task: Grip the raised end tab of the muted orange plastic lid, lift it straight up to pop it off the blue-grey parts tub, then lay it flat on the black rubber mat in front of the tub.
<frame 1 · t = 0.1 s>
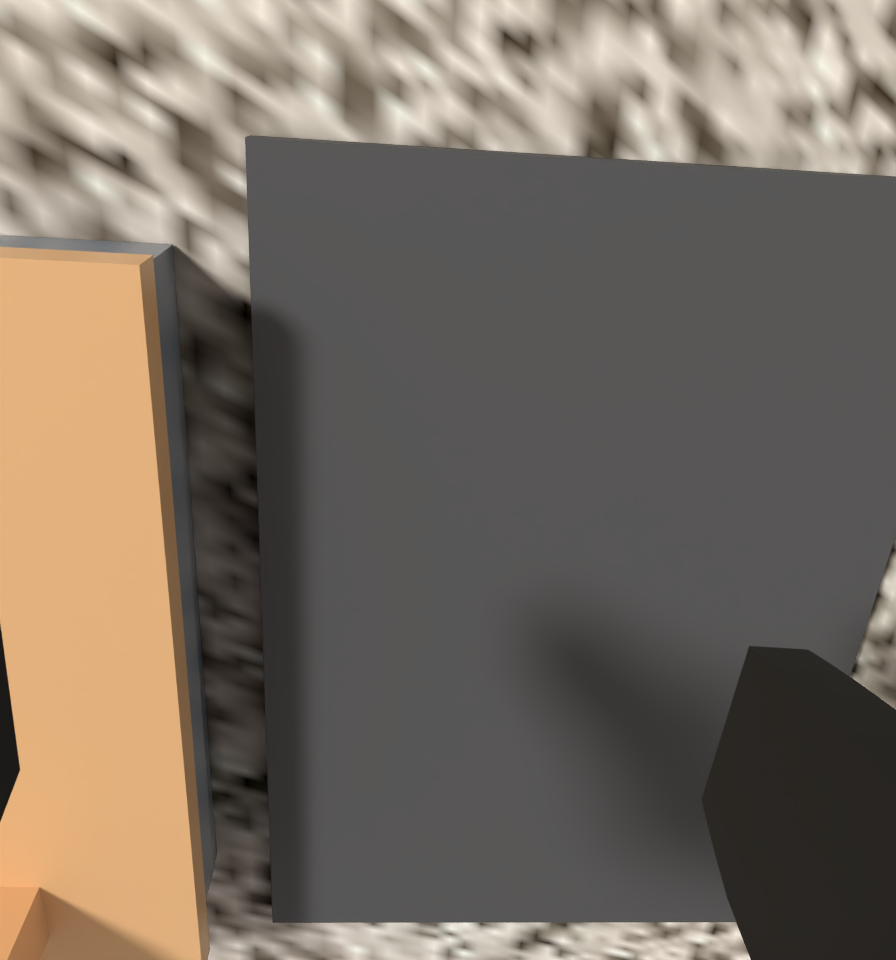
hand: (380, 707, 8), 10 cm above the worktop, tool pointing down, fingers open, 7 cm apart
mat: (567, 612, 20), on the worktop
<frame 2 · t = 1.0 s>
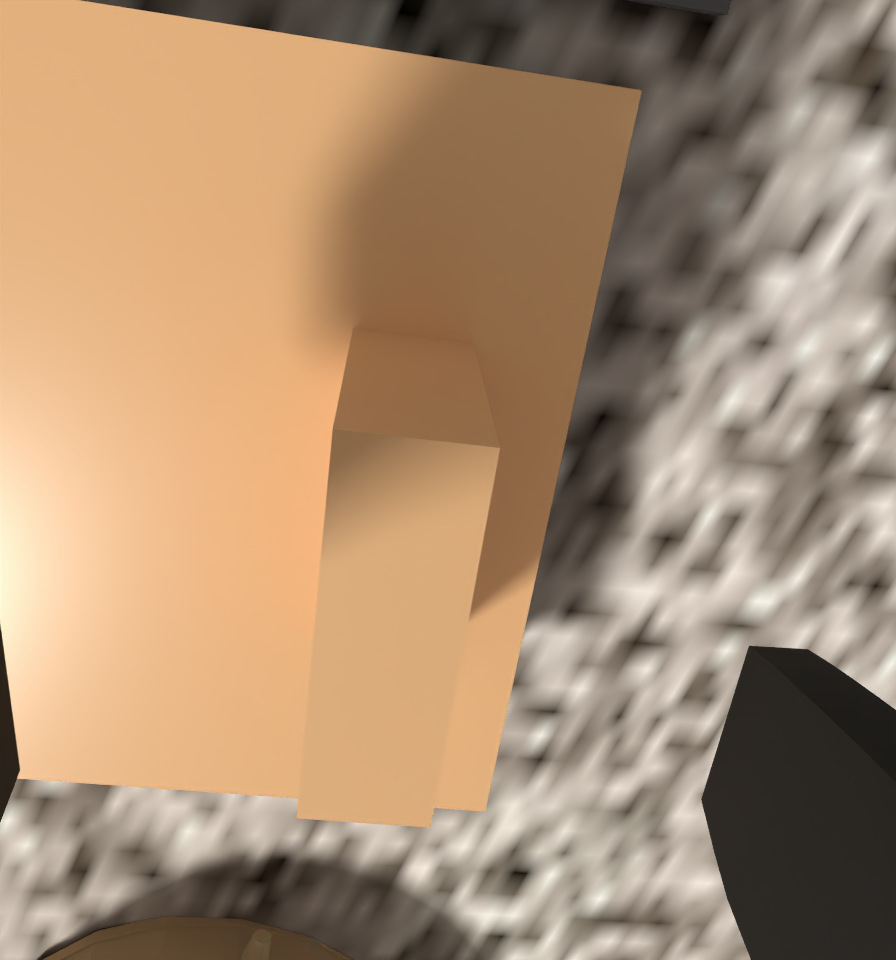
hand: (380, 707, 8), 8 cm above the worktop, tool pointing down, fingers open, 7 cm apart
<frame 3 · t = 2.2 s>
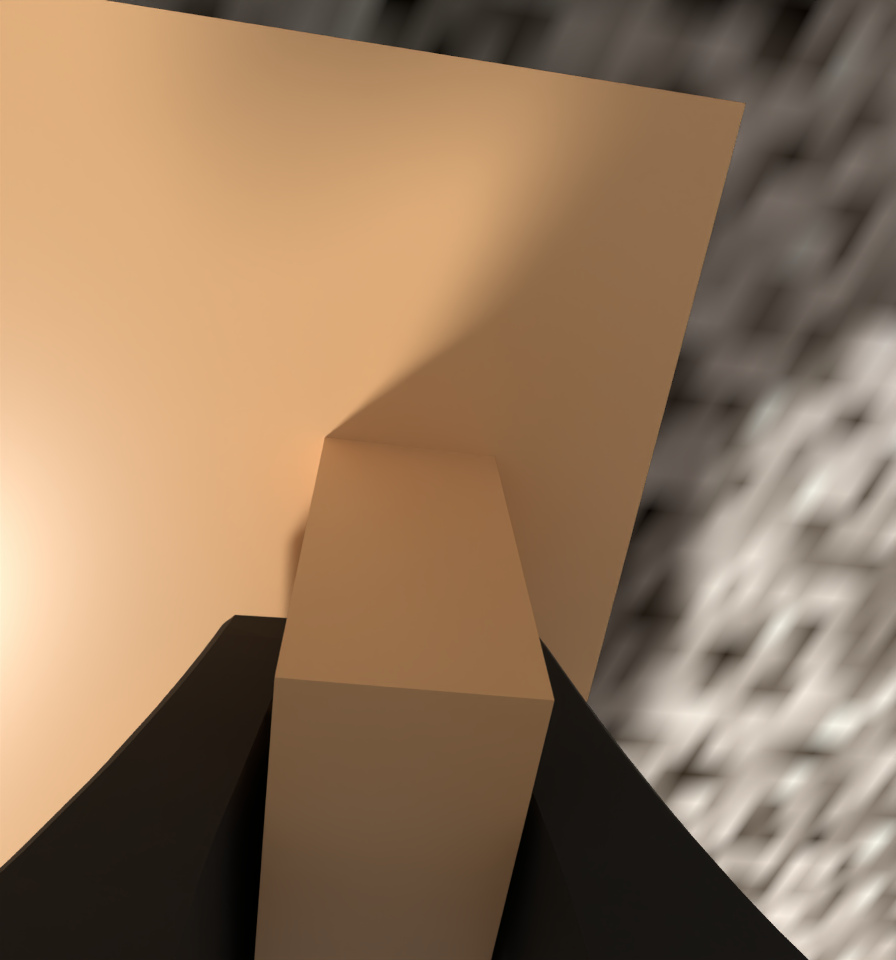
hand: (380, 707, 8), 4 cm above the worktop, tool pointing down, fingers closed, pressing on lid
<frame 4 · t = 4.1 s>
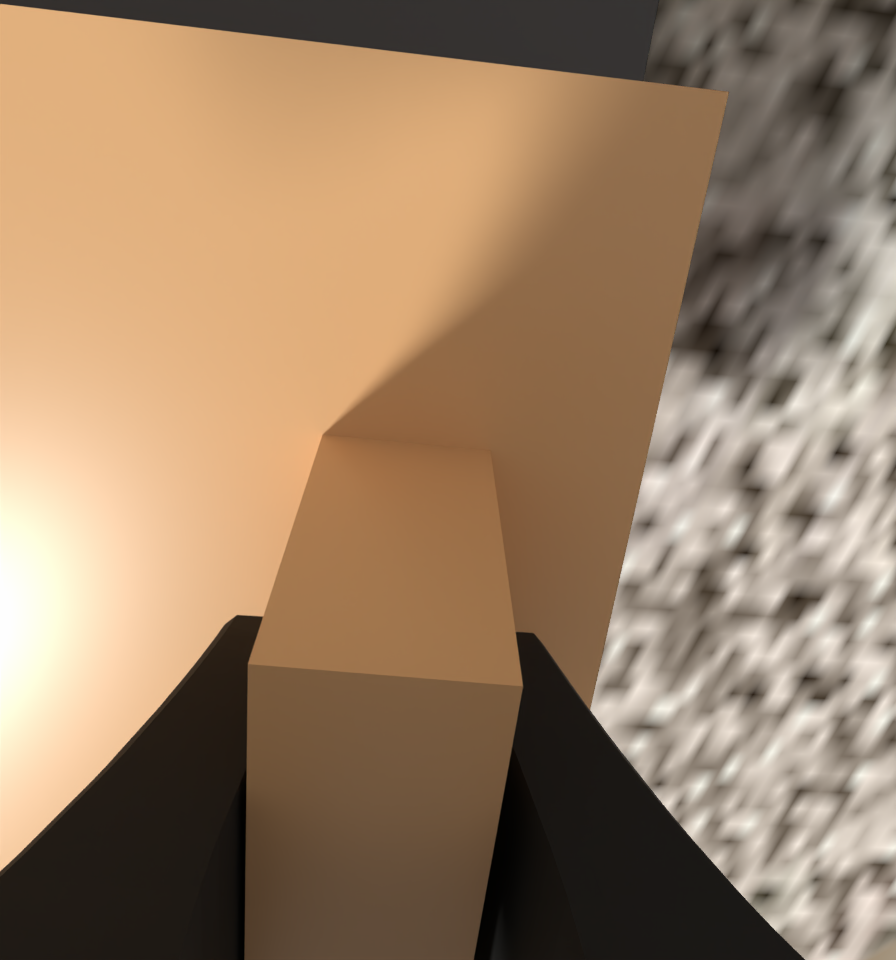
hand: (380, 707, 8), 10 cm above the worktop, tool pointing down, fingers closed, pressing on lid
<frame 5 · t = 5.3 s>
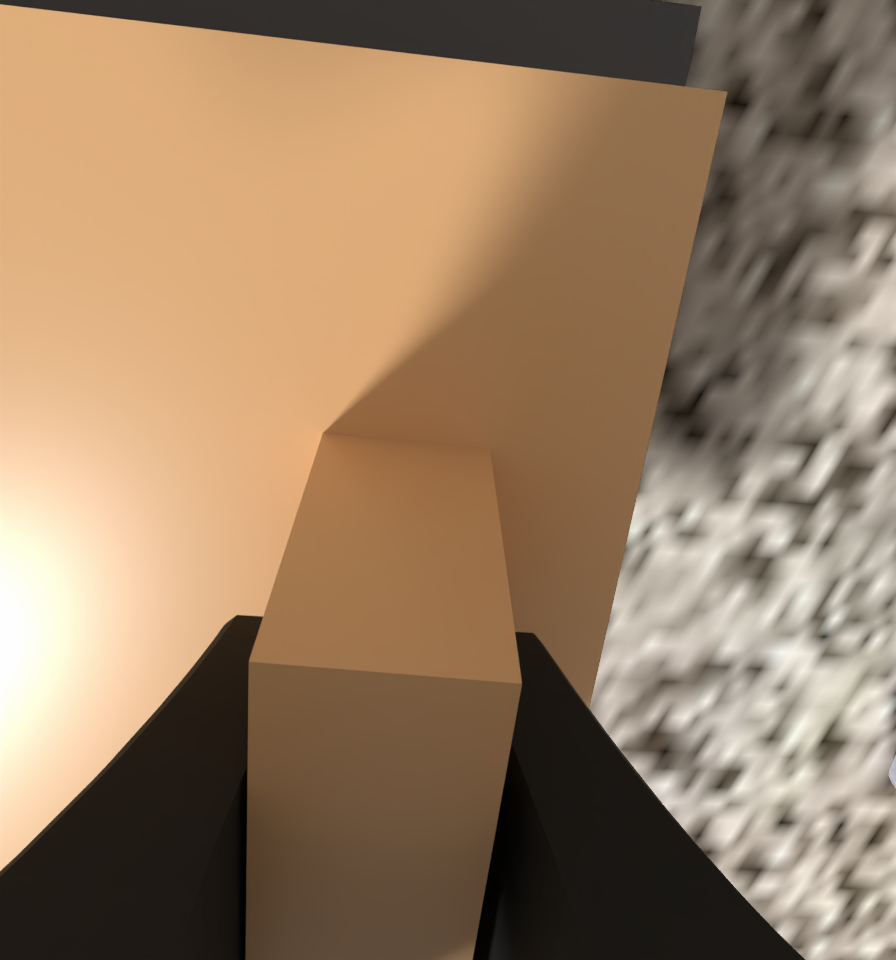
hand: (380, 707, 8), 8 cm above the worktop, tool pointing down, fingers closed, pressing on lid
mat: (52, 387, 15), on the worktop
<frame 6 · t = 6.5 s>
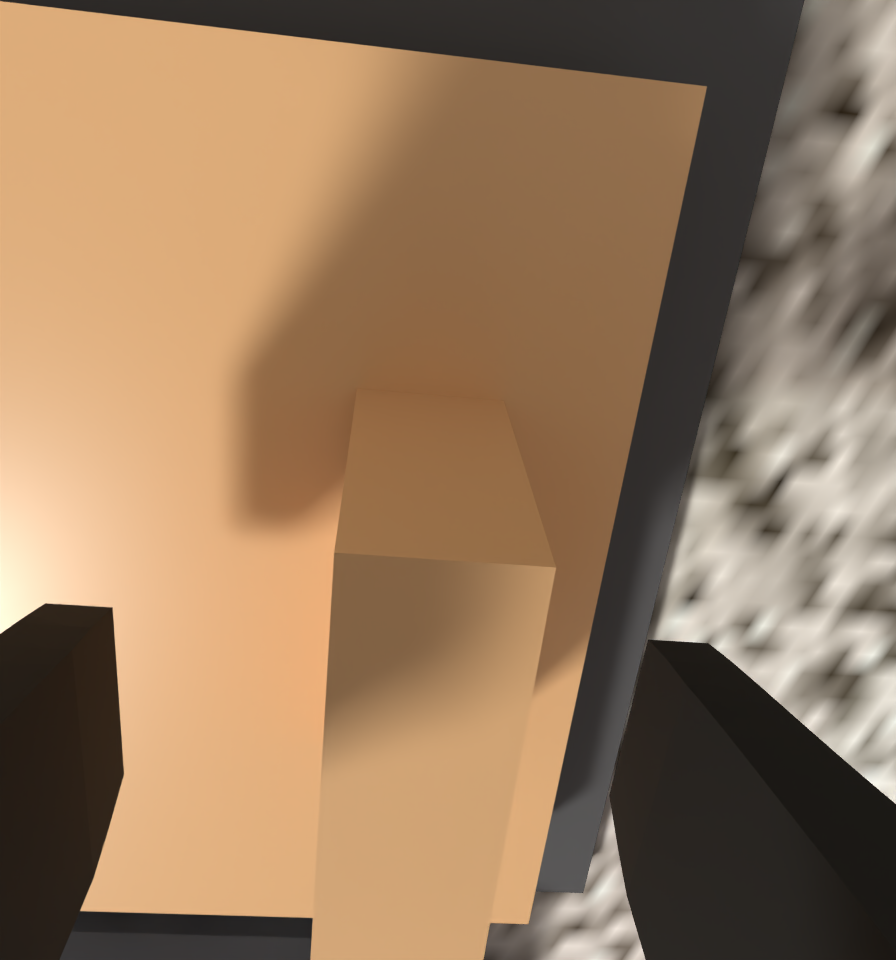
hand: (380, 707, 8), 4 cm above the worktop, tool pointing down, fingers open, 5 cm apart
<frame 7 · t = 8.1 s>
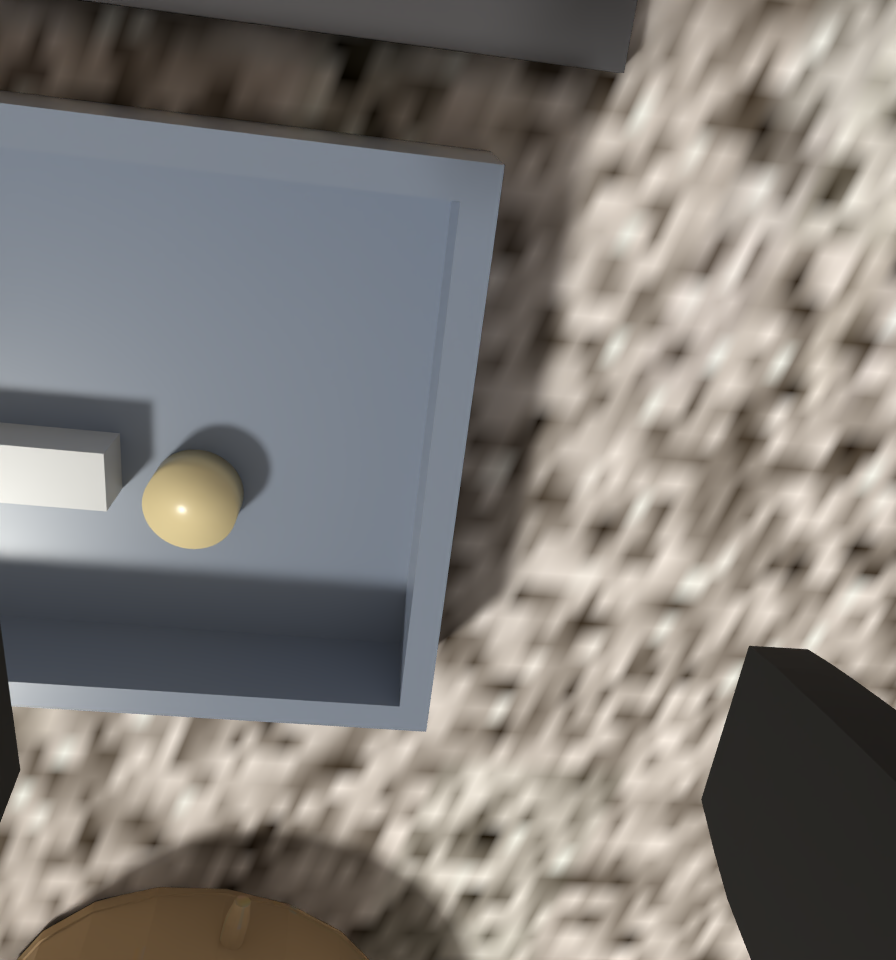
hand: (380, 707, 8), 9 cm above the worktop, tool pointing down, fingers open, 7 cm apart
tub: (46, 399, 17), on the worktop
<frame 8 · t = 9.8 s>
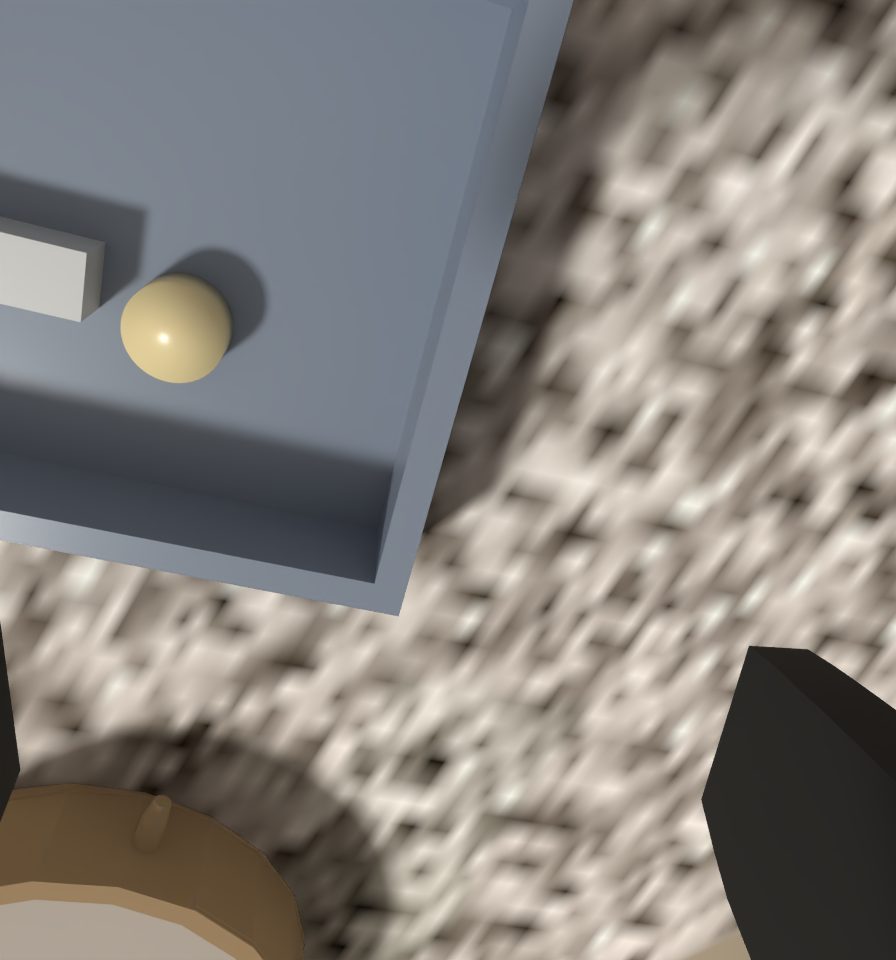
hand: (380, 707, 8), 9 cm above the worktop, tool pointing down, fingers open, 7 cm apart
tub: (26, 194, 15), on the worktop
alarm clock: (55, 947, 24), on the worktop
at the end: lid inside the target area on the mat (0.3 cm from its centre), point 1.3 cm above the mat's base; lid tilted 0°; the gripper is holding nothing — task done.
